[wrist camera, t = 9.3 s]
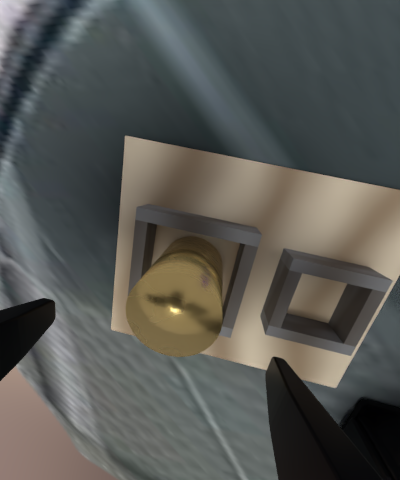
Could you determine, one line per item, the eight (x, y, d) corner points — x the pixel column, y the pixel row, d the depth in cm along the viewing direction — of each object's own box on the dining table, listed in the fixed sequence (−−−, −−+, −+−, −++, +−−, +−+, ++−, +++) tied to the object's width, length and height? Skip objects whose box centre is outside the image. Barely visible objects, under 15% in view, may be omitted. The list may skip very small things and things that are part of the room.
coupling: (228, 244, 14) (233, 286, 8) (214, 298, 15) (210, 366, 10) (167, 230, 14) (130, 261, 8) (158, 284, 16) (121, 343, 10)
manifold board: (418, 197, 13) (486, 201, 10) (326, 371, 18) (350, 415, 14) (135, 140, 14) (107, 126, 11) (119, 318, 19) (97, 347, 16)
